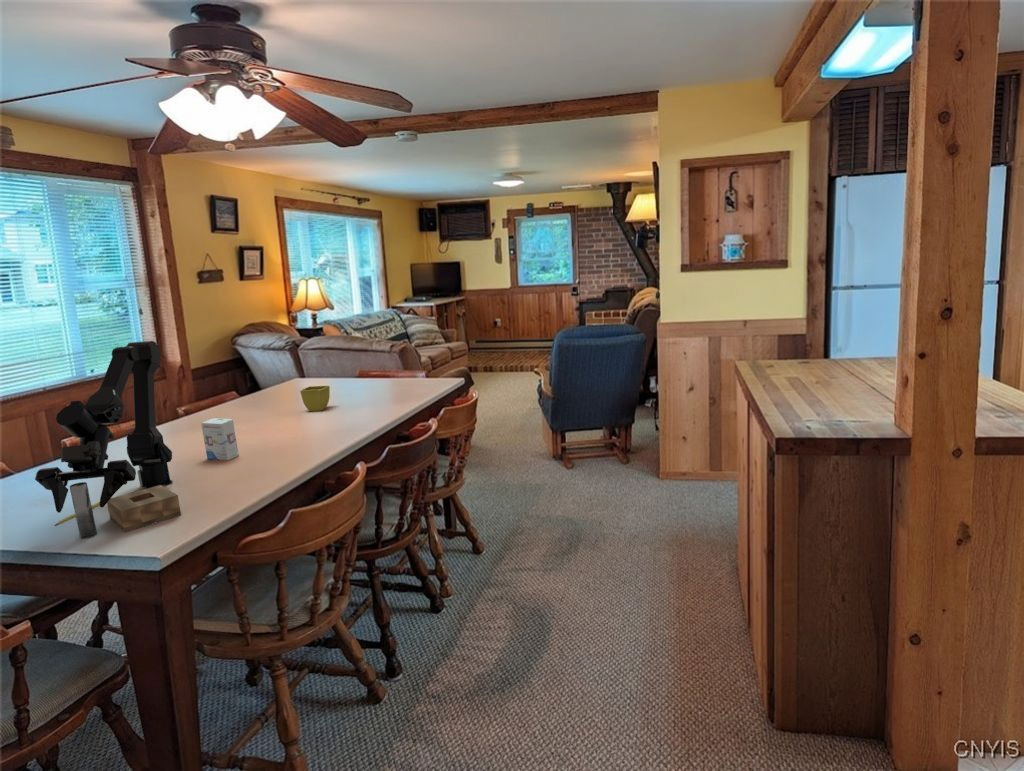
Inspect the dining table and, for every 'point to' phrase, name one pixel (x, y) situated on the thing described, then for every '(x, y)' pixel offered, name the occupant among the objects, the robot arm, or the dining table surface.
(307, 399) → the flower pot
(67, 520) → the pencil
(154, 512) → the socket block
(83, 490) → the pin
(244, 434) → the dining table surface
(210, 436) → the ink box
